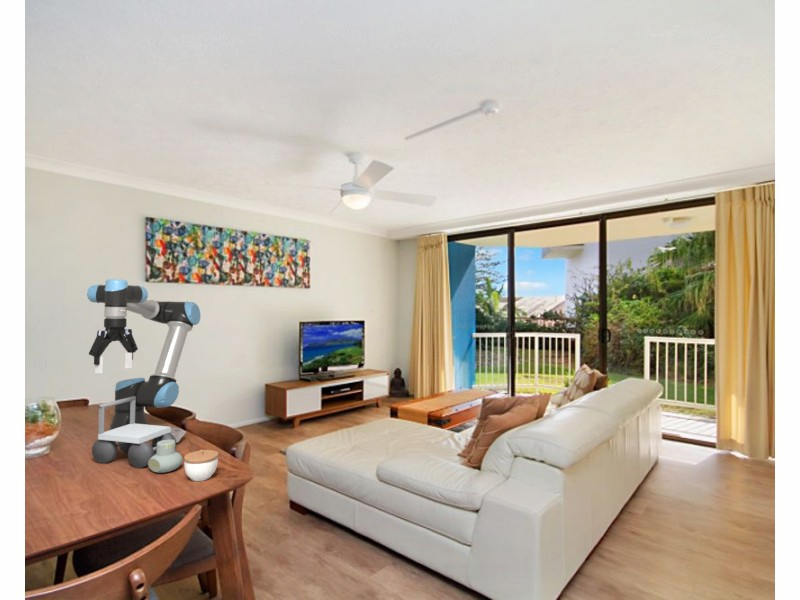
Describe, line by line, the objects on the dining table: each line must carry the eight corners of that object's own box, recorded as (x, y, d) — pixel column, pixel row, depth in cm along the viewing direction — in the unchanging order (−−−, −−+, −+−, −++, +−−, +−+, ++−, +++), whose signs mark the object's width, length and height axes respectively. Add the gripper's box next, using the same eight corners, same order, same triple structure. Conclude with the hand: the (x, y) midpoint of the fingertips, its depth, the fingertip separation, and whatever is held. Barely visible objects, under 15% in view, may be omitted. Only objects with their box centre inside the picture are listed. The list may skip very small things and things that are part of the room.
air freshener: (185, 469, 154) (186, 441, 154) (163, 477, 147) (164, 447, 147) (167, 463, 159) (167, 436, 160) (144, 470, 152) (145, 442, 152)
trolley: (124, 450, 173) (125, 395, 173) (177, 456, 167) (179, 399, 167) (89, 463, 158) (91, 403, 159) (146, 470, 153) (148, 408, 153)
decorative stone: (188, 438, 189) (188, 425, 189) (176, 446, 179) (177, 431, 179) (158, 438, 189) (158, 425, 189) (145, 445, 179) (145, 431, 180)
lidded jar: (182, 486, 140) (183, 457, 140) (184, 474, 150) (185, 447, 150) (218, 481, 144) (218, 453, 144) (217, 470, 154) (218, 443, 154)
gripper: (94, 318, 160) (93, 375, 160) (148, 317, 184) (146, 366, 184) (78, 318, 162) (76, 374, 162) (133, 316, 186) (132, 366, 186)
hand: (114, 370), depth 173 cm, fingers open, 13 cm apart
